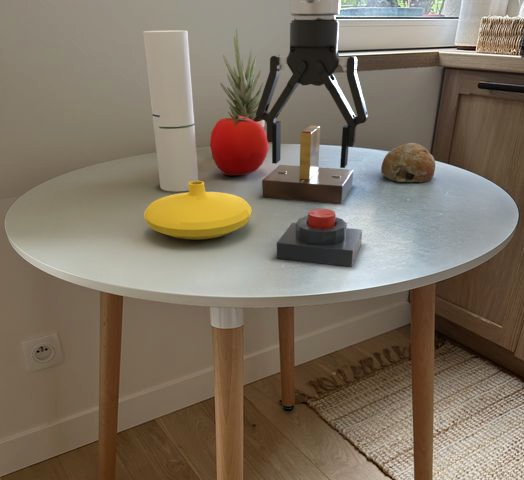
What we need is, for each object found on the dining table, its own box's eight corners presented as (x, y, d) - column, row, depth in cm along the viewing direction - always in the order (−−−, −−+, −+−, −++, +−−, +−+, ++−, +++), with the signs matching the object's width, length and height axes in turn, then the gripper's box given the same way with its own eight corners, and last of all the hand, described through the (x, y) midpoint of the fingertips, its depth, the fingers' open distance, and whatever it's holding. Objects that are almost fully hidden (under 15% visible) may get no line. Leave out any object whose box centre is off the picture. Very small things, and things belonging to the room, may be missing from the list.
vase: (272, 235, 79) (272, 187, 75) (173, 259, 72) (167, 206, 68) (221, 207, 90) (218, 164, 86) (130, 225, 83) (124, 179, 79)
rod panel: (352, 186, 100) (353, 168, 99) (341, 204, 91) (342, 185, 90) (279, 180, 104) (279, 163, 102) (262, 197, 95) (261, 179, 93)
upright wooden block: (308, 169, 99) (310, 123, 95) (318, 169, 99) (320, 124, 94) (299, 179, 93) (300, 131, 89) (309, 179, 93) (311, 132, 89)
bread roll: (378, 198, 105) (383, 164, 99) (380, 163, 111) (384, 129, 104) (431, 200, 104) (439, 166, 97) (430, 165, 109) (438, 130, 103)
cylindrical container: (183, 178, 106) (170, 30, 92) (206, 185, 101) (196, 30, 88) (152, 186, 101) (134, 31, 88) (175, 193, 97) (160, 32, 84)
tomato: (225, 164, 115) (223, 107, 109) (276, 169, 111) (277, 110, 105) (200, 179, 105) (195, 117, 99) (254, 184, 102) (253, 121, 96)
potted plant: (226, 148, 128) (221, 26, 114) (266, 149, 127) (266, 26, 114) (219, 158, 119) (213, 28, 106) (262, 159, 118) (261, 28, 105)
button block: (361, 244, 76) (363, 216, 74) (351, 266, 69) (354, 237, 67) (291, 237, 78) (292, 210, 76) (276, 258, 72) (276, 229, 70)
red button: (337, 222, 73) (338, 209, 72) (331, 231, 70) (332, 218, 69) (311, 220, 74) (311, 207, 73) (304, 228, 71) (305, 215, 70)
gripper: (233, 19, 83) (238, 164, 95) (390, 18, 77) (374, 173, 89) (249, 17, 89) (251, 154, 101) (395, 17, 83) (380, 163, 95)
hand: (309, 163), depth 95 cm, fingers open, 11 cm apart
